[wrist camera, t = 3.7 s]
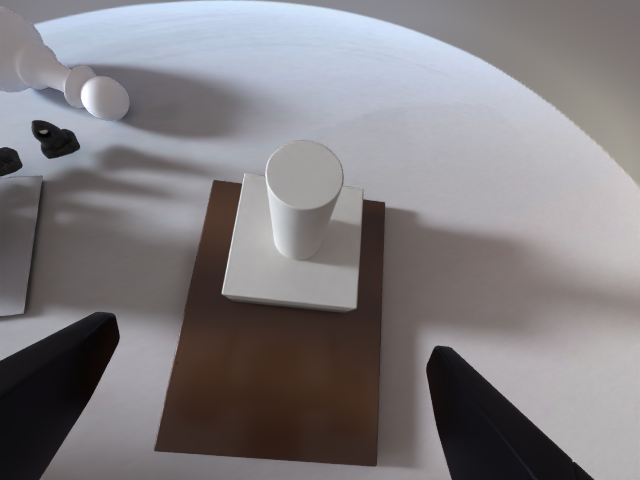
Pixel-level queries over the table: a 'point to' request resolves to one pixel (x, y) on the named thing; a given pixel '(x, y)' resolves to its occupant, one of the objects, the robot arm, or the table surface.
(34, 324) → the table surface
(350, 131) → the table surface
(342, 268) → the white peg on base
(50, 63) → the chess pawn
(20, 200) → the stacked layers on plate
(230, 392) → the board
